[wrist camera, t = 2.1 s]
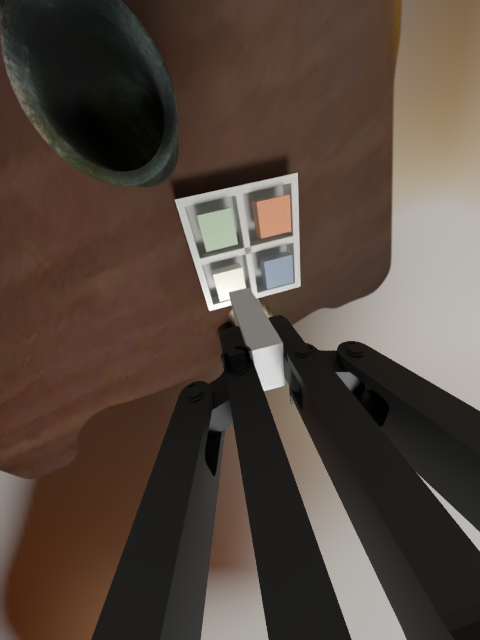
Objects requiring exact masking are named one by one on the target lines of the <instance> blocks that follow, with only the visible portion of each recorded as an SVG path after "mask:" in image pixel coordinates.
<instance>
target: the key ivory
mask: <svg viewBox="0 0 480 640" xmlns="http://www.w3.org/2000/svg"><path fill="white" fill-rule="evenodd" d="M211 271H212V275H213V279H214V282H215V286H216V290H217V293H218V297H219V300H220V302H222V301H225V300H229V299H230V296H229V292H232V291H237V290H241V289H245V288H246V284H245V279H244V273H243V268H242V266H241V265H240V264H239V263H237V264H233V265H229V266H225V267H221V268H217V269H213V270H211Z"/></svg>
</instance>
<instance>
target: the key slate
mask: <svg viewBox="0 0 480 640" xmlns="http://www.w3.org/2000/svg"><path fill="white" fill-rule="evenodd" d="M259 261H260V268H261V276H262V283H263V285H264V286H265V287H266V289H271V288H274V287H278V286H282V285H286V284H290V283H293V282H294V281H293V258H292V254H290V253H288V252H286V251H285V252H281V253H277V254H273V255H269V256H265V257H261V258H259Z"/></svg>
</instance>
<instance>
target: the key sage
mask: <svg viewBox="0 0 480 640" xmlns="http://www.w3.org/2000/svg"><path fill="white" fill-rule="evenodd" d="M196 215H197V219H198V223H199V227H200V230H201V234H202V238H203V241H204V245H205V249H206V252H208V251H212V250H217V249H221V248H225V247H229V246H233V245H237V244H238V240H237V235H236V229H235V224H234V218H233V213H232V208H230V207H227V208H223V209H218V210H214V211H210V212H205V213H201V214H196Z"/></svg>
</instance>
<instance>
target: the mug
mask: <svg viewBox="0 0 480 640" xmlns="http://www.w3.org/2000/svg"><path fill="white" fill-rule="evenodd" d="M0 19H1V28H0V38H1V48H2V55H3V59H4V63H5V67H6V72H7V75H8V77H9V80H10V83H11V85H12V88H13V91H14V93H15V95H16V97H17V99H18V101H19V103H20V105H21V107H22V109H23V110H24V112H25V114H26V115H27V117H28V118H29V120H30V122H31V123H32V125H33V126H34V127H35V129H36V130H37V131H38V132H39V134H40V135H41V136H42V138H43V139H44V140H45V141H46V142H47V143H48V144H49V145H50V146H51V147H52V149H53V150H54V151H55V152H56V153H58V154H59V155H60V156H61V157H62V158H63V159H64V160H65V161H67V162H68V163H69V164H71V165H72V166H73V167H75V168H76V169H78V170H79V171H81V172H82V173H84V174H86V175H88V176H90V177H92V178H94V179H96V180H99V181H101V182H104V183H108V184H112V185H120V186H131V185H136V186H141V187H152V186H156V185H159V184H161V183H163V182H164V181H165V180H167V179H168V178H169V177H170V175H171V174H172V172H173V171H174V169H175V166H176V163H177V160H178V152H179V145H178V136H177V131H178V113H177V103H176V98H175V93H174V88H173V85H172V82H171V78H170V75H169V72H168V70H167V67H166V65H165V63H164V60H163V58H162V56H161V53H160V52H159V50H158V48H157V46H156V44H155V43H154V41H153V39H152V37H151V36H150V34H149V33H148V32H147V30H146V29H145V27H144V26H143V24H142V23H141V21H140V20H139V19H138V18H137V17H136V16H135V14H134V13H133V12H132V11H131V10H130V9H129V7H128V6H127V5H126V4H125V3H124V2H123V1H121V0H0Z"/></svg>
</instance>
